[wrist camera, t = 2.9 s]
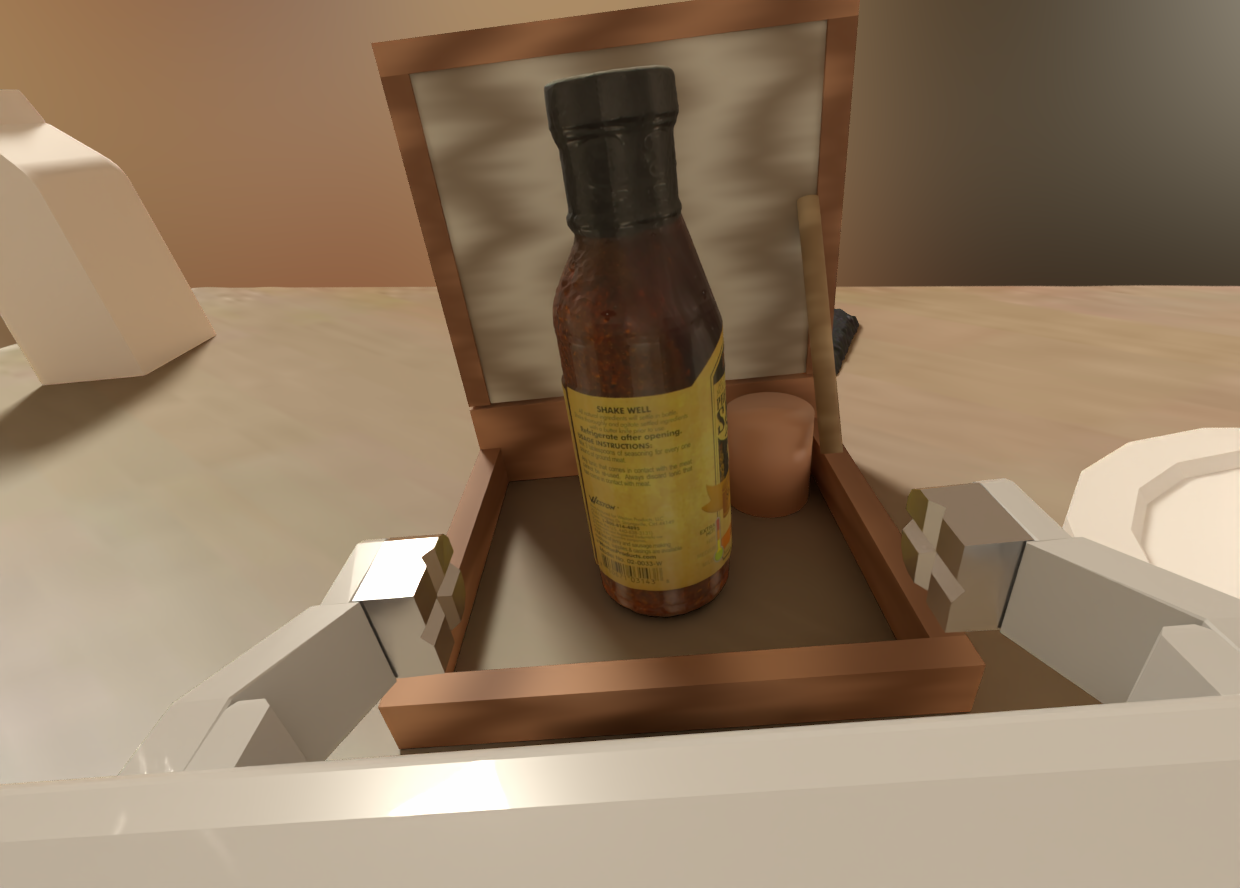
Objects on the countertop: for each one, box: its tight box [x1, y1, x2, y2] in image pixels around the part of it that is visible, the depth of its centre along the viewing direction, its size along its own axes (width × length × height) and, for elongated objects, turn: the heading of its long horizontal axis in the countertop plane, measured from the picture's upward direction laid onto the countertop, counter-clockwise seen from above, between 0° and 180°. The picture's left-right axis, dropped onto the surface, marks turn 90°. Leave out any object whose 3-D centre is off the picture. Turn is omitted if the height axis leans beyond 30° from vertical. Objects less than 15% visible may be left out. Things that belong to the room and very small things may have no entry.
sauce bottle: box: [544, 65, 732, 617], centre depth 22 cm, size 6×6×20 cm
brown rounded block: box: [727, 392, 815, 518], centre depth 30 cm, size 4×4×5 cm
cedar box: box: [372, 0, 986, 749], centre depth 22 cm, size 20×18×22 cm
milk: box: [0, 90, 217, 385], centre depth 59 cm, size 12×12×26 cm
